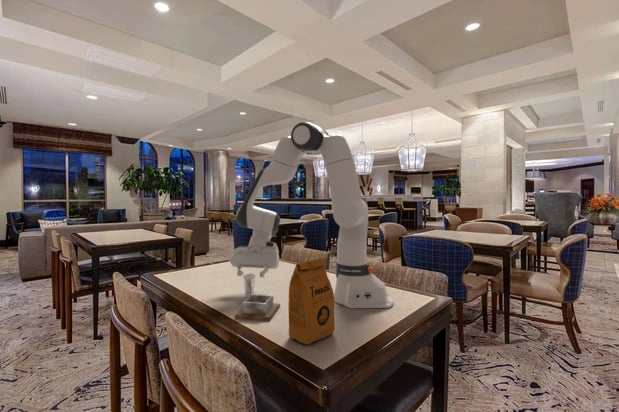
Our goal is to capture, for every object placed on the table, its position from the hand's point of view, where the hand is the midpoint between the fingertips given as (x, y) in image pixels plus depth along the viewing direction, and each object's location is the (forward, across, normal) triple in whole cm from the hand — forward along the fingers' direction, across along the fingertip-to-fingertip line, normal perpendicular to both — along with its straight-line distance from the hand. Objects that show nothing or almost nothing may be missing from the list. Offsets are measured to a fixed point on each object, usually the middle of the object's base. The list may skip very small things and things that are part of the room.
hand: (250, 275), depth 121 cm
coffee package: (+27, +30, -16) cm, 44 cm away
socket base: (+17, +9, -6) cm, 20 cm away
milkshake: (+7, 0, +4) cm, 8 cm away
